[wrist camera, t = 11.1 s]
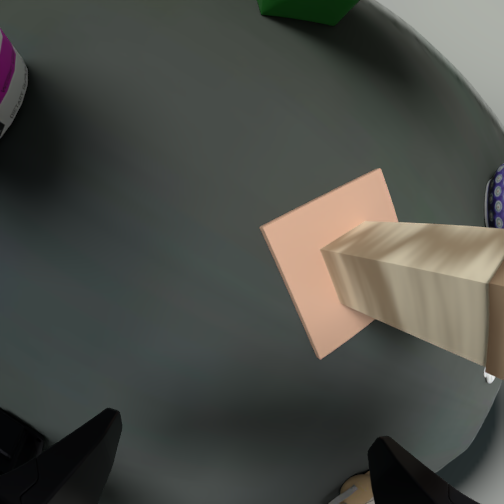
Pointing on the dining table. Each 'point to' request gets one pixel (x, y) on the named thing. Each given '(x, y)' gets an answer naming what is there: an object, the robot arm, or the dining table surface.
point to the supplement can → (10, 82)
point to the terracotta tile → (311, 260)
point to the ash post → (427, 283)
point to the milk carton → (308, 9)
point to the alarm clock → (356, 491)
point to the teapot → (495, 200)
